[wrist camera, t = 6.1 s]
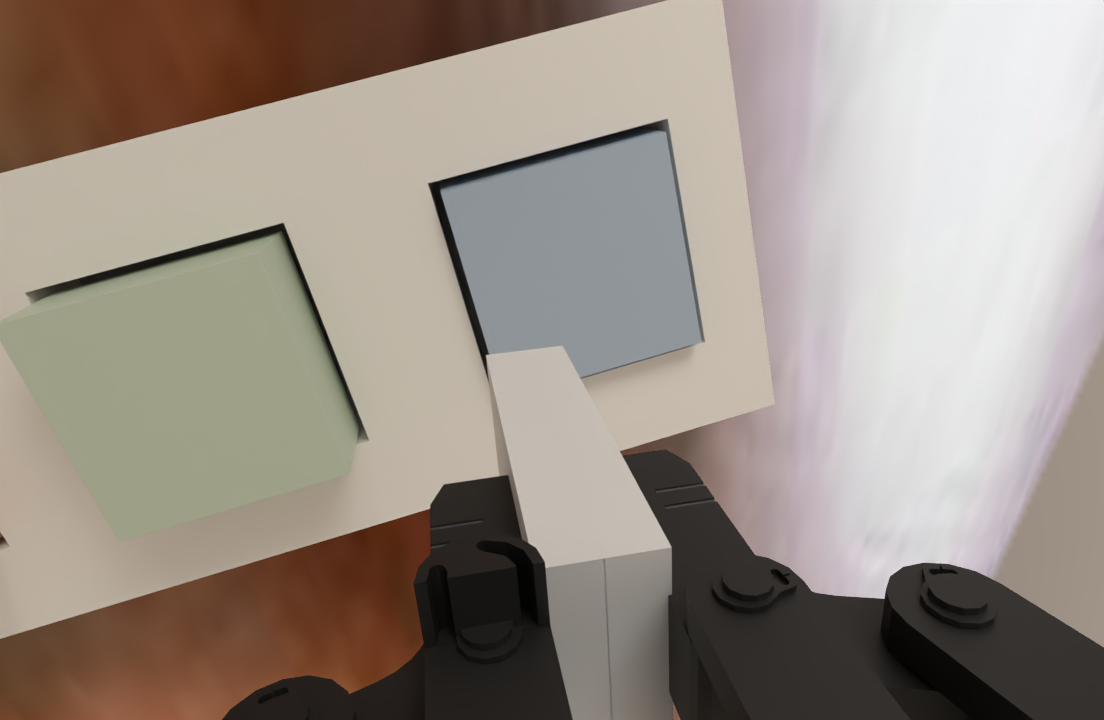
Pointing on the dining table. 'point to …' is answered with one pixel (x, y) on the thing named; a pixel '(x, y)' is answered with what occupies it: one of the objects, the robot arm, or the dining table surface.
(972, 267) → the dining table surface
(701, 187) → the console
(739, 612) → the robot arm
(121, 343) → the button sage
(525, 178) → the button blue
